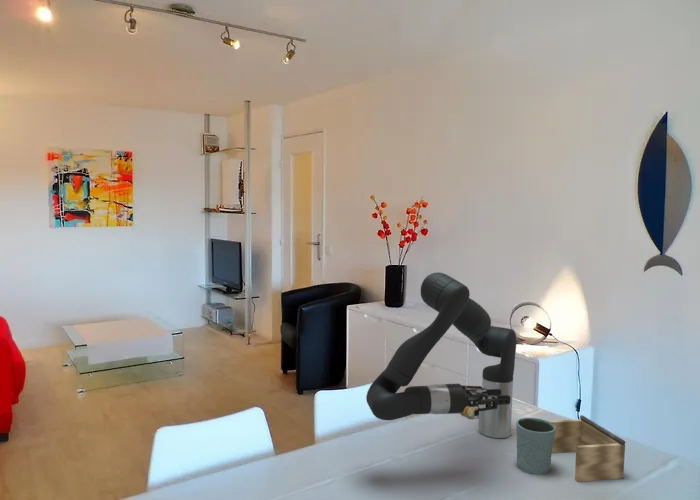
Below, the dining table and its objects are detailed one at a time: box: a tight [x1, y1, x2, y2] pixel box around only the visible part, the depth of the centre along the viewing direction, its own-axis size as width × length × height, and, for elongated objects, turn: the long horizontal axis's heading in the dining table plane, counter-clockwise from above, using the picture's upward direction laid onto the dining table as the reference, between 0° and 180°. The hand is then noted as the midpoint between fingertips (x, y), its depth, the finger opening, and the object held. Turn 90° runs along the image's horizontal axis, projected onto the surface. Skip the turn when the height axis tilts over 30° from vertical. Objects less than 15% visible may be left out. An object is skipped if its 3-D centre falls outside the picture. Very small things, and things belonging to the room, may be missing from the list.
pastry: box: [460, 406, 479, 420], centre depth 193 cm, size 9×7×4 cm
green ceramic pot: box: [515, 417, 556, 476], centre depth 152 cm, size 10×10×12 cm
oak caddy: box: [547, 414, 626, 483], centre depth 155 cm, size 13×18×10 cm
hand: (504, 396), depth 150 cm, fingers open, 4 cm apart
